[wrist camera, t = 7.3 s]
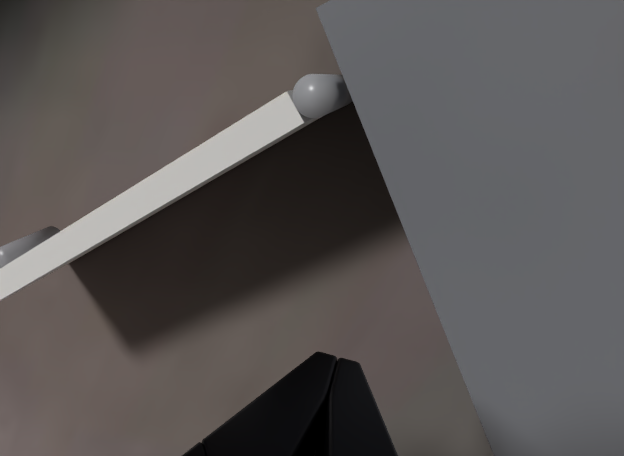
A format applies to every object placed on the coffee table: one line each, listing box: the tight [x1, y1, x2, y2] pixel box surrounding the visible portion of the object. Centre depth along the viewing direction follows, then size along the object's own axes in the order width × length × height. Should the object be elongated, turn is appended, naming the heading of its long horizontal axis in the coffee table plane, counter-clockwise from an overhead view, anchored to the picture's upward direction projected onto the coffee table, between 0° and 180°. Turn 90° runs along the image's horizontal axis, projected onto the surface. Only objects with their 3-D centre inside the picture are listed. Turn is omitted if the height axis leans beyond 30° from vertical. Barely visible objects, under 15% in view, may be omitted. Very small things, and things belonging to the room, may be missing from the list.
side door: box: [0, 74, 353, 301], centre depth 18 cm, size 17×2×6 cm, turn 120°
